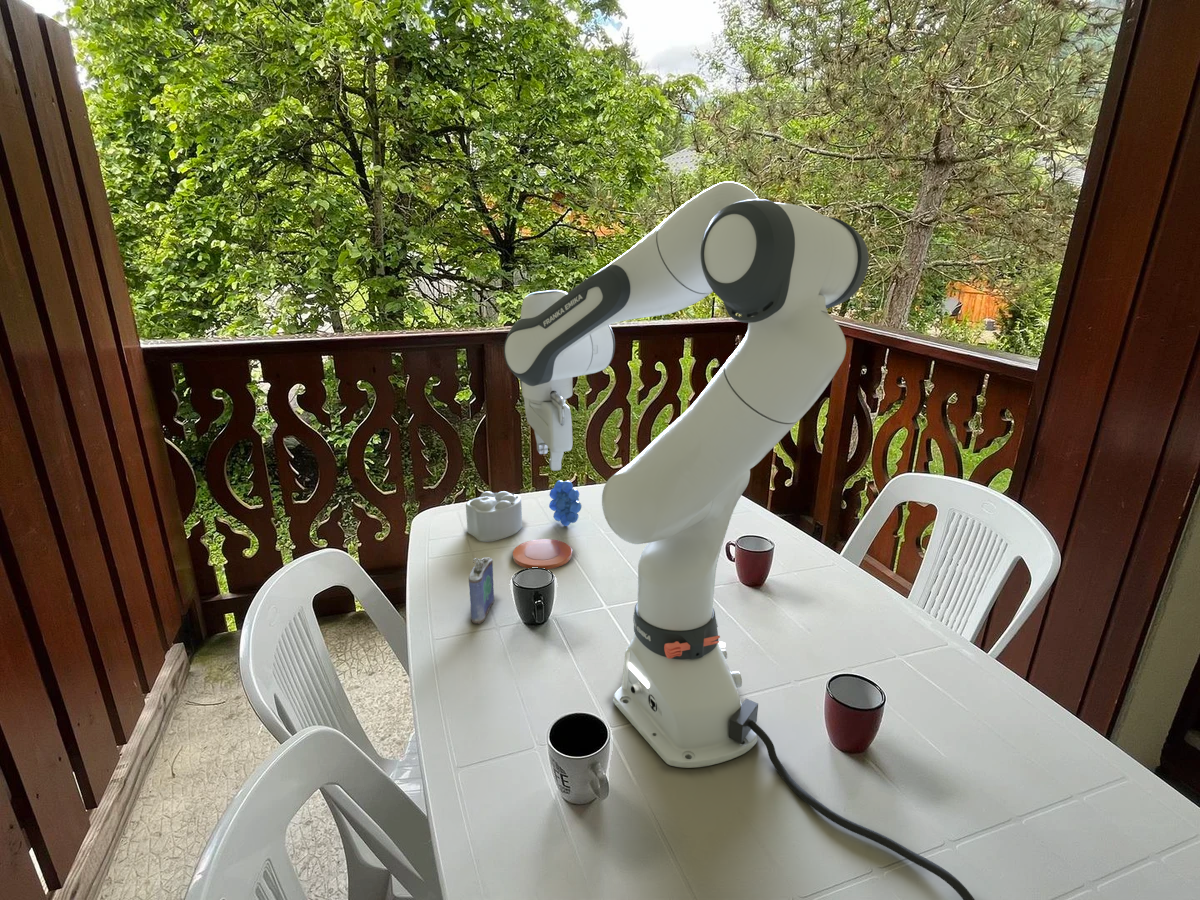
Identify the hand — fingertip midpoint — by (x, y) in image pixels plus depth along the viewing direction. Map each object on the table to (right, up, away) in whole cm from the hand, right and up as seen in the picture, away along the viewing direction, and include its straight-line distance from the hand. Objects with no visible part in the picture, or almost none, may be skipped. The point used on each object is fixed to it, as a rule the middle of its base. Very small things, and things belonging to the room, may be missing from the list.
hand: (548, 460), depth 115 cm
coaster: (-3, -21, +26) cm, 34 cm away
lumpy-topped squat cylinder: (-15, -17, +39) cm, 45 cm away
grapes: (+2, -17, +41) cm, 45 cm away
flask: (-13, -28, +4) cm, 31 cm away
